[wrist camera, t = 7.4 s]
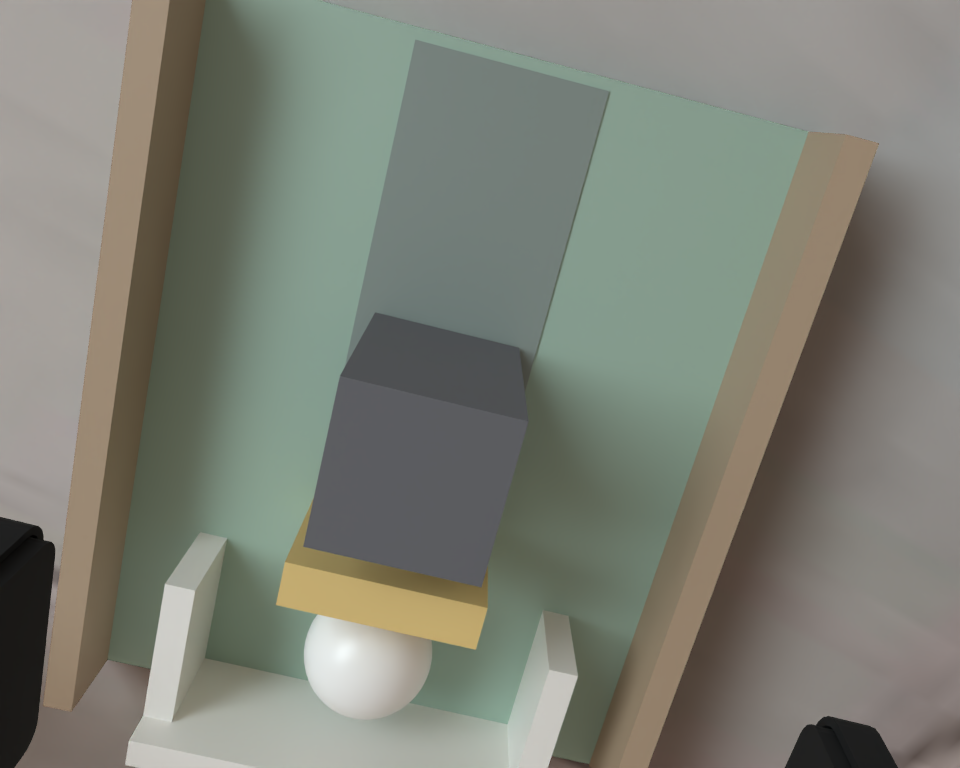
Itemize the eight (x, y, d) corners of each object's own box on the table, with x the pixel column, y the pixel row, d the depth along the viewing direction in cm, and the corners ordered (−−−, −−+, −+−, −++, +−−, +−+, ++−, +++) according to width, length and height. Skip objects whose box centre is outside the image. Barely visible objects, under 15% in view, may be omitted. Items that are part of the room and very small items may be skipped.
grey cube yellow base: (536, 352, 24) (552, 427, 19) (477, 562, 26) (474, 690, 21) (357, 307, 24) (315, 370, 18) (310, 524, 26) (259, 642, 20)
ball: (410, 760, 25) (422, 669, 28) (439, 660, 23) (449, 577, 26) (280, 733, 24) (309, 644, 28) (302, 630, 23) (329, 549, 26)
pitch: (827, 138, 24) (879, 143, 20) (610, 752, 29) (624, 829, 26) (188, -33, 23) (139, -56, 19) (92, 639, 28) (42, 705, 25)
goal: (568, 615, 27) (581, 699, 23) (525, 750, 28) (531, 850, 25) (200, 532, 26) (151, 604, 22) (175, 674, 28) (125, 764, 24)
